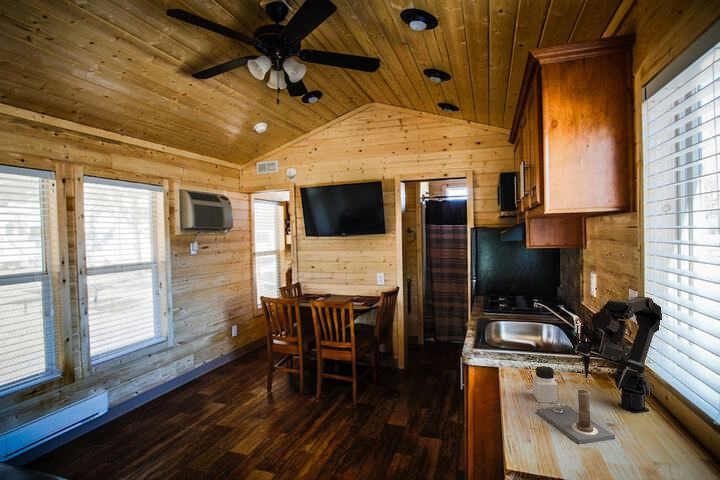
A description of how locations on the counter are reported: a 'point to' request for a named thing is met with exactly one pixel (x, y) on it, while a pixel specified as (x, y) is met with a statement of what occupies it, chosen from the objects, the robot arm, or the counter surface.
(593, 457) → the counter surface
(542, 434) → the counter surface
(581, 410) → the walnut peg
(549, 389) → the medicine bottle
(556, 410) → the steel pin
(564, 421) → the board
